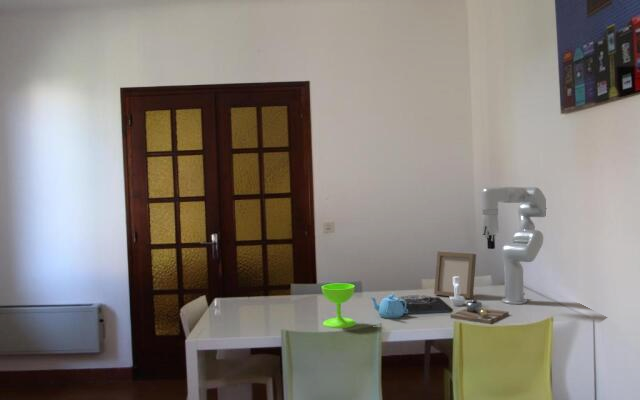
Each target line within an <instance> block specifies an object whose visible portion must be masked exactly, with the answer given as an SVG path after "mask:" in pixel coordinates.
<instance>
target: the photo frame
mask: <svg viewBox="0 0 640 400" xmlns="http://www.w3.org/2000/svg"><path fill="white" fill-rule="evenodd" d="M476 259H477V254H476V253H468V252H467V253H466V252H465V253H464V252H450V251H449V252H448V251H437V255H436V265H435V266H436V267H435V268H436V269H435V277H434V278H435V279H434V291H433V292H434V293H433V295H435V296H436V295H438V296H446V297H453V296H454V286H453V277H454V276H456V277H458V276H459V280H460V282H459V283H460V284H459V285H460V287H461V294H460V296H463V297H464V298H465V299H471V300H474V287H475V276H476Z"/></svg>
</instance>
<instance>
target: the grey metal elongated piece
mask: <svg viewBox="0 0 640 400" xmlns="http://www.w3.org/2000/svg"><path fill="white" fill-rule="evenodd" d="M482 304H483V303H482V302H481V301H477V299H471V300H470V301H467V302H466V308H467V311H468V312H478V313H479V314H480V315H481V316H486V315H487V311H486V310H484V309H482V308H483V306H482Z"/></svg>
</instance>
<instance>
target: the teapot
mask: <svg viewBox="0 0 640 400" xmlns="http://www.w3.org/2000/svg"><path fill="white" fill-rule="evenodd" d="M394 295H395V294H394V292H393V291H391V293H390V294H389V295H387V297H384V298H383V299H381V302H380V303H379V304H377V299H376V298H375V297H373V296H369V298H371V300H372V301H373V306H374V310H376V312H377V313H378V315H379V316H380V317H381V318H384V319H385V318H386V319H397V318H398V319H399V318H402V316H403V315H404V314H408V313H409V310H408V308H407V301H406V300H405V299H402V298H401V299H399V298H398V297H394ZM402 302H403V303H404V305H403V303H402Z"/></svg>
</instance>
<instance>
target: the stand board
mask: <svg viewBox="0 0 640 400" xmlns="http://www.w3.org/2000/svg"><path fill="white" fill-rule="evenodd" d="M482 309H484V310H486V311H487V315H486V316H481V315H480V314H479V313H478V312H468V311H467V307H466V308H464V309H462V310H458V311H457V312H454V313H451V314H450V318H451V319H455V320H462V321H467V322H468V321H469V322H476V323H483V324H489V325H490V324H492V323H494V322H496V321H499V320H501V319H503V318H504V317H507V316H509V315H510V314H509V311H507V310H501V309H500V310H499V309H492V308H485V307H482Z"/></svg>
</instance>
